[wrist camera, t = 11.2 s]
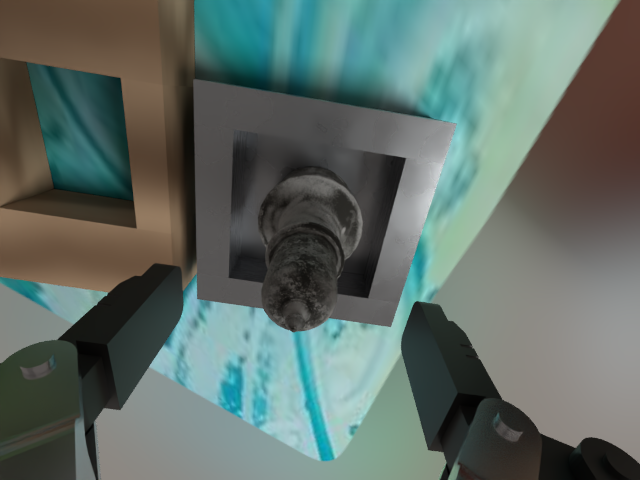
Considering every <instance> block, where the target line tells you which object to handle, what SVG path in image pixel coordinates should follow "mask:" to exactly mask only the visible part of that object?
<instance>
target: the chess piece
mask: <svg viewBox="0 0 640 480" xmlns="http://www.w3.org/2000/svg"><path fill="white" fill-rule="evenodd" d="M362 226H363V221H362V216H361V210H360V208H359V206H358V204H357V202H356V200H355V198H354V196H353V195H352V194H351V192H350V190H349V188H348V186H347V184H346V183H345V182H344V180H343V179H342V178H341V177H340V176H339V175H337V174H336V173H334V172H332V171H331V170H328V169H325V168H322V167H312V166H308V167H304V168H299V169H297V170H295V171H293V172H291V173H289V174H288V175H287V176H286V177H285V178H284V179H283V180H282V181H281V182H280V183H278V184H277V185H276V186H275V187H274V188H273V189H272V190H271V191H270V192H269V193H268V194H267V195H266V197H265V199H264V201H263V202H262V204H261V207H260V211H259V215H258V231H259V234H260V237H261V240H262V243H263V244H264V246H265V247H266V253H265V262H266V266H267V269H268V271H267V274H266V276H265V279H264V282H263V286H262V289H261V298H262V305H263V308H264V311H265V312H266V314H267V315H268V317H269V318H270V319H271V320H272V321H274V322H275V323H276V324H277V325H278V326H280V327H282V328H284V329H287V330H290V331H292V332H296V331H306V330H310V329H313V328H315V327H317V326H319V325H321V324H322V323H324V322H325V321H326V320H327V319H328V318H329V317H330V316H331V314H332V313H333V310H334V308H335V305H336V302H337V279H338V277H339V276H340V275H341V272H342V270H343V268H344V261H345V260H346V259H347V258H349V257H350V255H351V254H352V253H353V251H354V250H355V249H356V248H357V245H358V243H359V240H360V238H361V236H362Z"/></svg>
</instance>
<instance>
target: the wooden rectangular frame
mask: <svg viewBox="0 0 640 480" xmlns="http://www.w3.org/2000/svg"><path fill="white" fill-rule="evenodd" d="M26 62H30V63H36V64H42V65H47V66H53V67H59V68H65V69H71V70H77V71H83V72H89V73H95V74H101V75H106V76H112V77H118V78H121V85H122V95H123V104H124V113H125V122H126V132H127V141H128V150H129V159H130V169H131V178H132V187H133V196H134V201H129V200H123V199H116V198H110V197H104V196H97V195H91V194H84V193H78V192H71V191H65V190H58V189H54V186H53V182H52V177H51V173H50V168H49V164H48V159H47V154H46V150H45V145H44V141H43V136H42V132H41V127H40V123H39V118H38V114H37V109H36V104H35V100H34V95H33V91H32V86H31V82H30V77H29V73H28V68H27V64H26ZM193 79H195V38H194V0H0V277H6V278H13V279H20V280H27V281H34V282H40V283H47V284H54V285H61V286H68V287H75V288H82V289H89V290H96V291H103V292H110V291H111V290H112V289H114V288H115V287H116V286H117V285H118V284H119V283H121V282H123V281H125V280H127V279H129V278H131V277H133V276H135V275H136V276H142V275H143V274H144V273H145V272H146V271H147V270H148V269H149V268H150V267H151V266H152V265H153V264H155V263H160V264H167V265H174V266H179V267H180V268H181V271H182V285H183V290H184V289H185V288H186V286H187V285H188V284H189V282H190V281H191V280H192V278H193V277H194V276H195V275H196V273H197V249H196V196H195V142H194V88H193Z"/></svg>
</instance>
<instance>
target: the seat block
mask: <svg viewBox="0 0 640 480" xmlns="http://www.w3.org/2000/svg"><path fill="white" fill-rule="evenodd" d="M193 88H194V142H195V196H196V249H197V299H201V300H208V301H215V302H222V303H229V304H236V305H242V306H249V307H256V308H263V305H262V298H261V289H262V286H263V282H264V279H265V276H266V274H267V271H268V269H267V266H266V262H265V253H266V247H265V246H264V244H263V243H262V240H261V237H260V234H259V231H258V215H259V211H260V207H261V204H262V202H263V201H264V199H265V197H266V195H267V194H268V193H269V192H270V191H271V190H272V189H273V188H274V187H275V186H276V185H277V184H278V183H280V182H281V181H282V180H283V179H284V178H285V177H286V176H287V175H288V174H289V173H291V172H293V171H295V170H297V169H299V168H304V167H308V166H312V167H322V168H325V169H328V170H331V171H332V172H334V173H336V174H337V175H339V176H340V177H341V178H342V179H343V180H344V182H345V183H346V184H347V186H348V188H349V190H350V192H351V194H352V195H353V196H354V198H355V200H356V202H357V204H358V206H359V208H360V210H361V216H362V221H363V226H362V236H361V238H360V240H359V243H358V245H357V248H356V249H355V250H354V251H353V253H352V254H351V255H350V257H349V258H347V259H346V260H345V261H344V268H343V270H342V272H341V275H340V276H339V277H338V279H337V302H336V305H335V308H334V310H333V313H332V314H331V316H330V317H329V318H332V319H339V320H346V321H353V322H360V323H367V324H374V325H381V326H388V327H391V325H392V322H393V319H394V316H395V313H396V310H397V307H398V303H399V300H400V297H401V294H402V291H403V288H404V285H405V282H406V279H407V276H408V273H409V270H410V266H411V263H412V260H413V257H414V254H415V251H416V248H417V245H418V242H419V239H420V236H421V233H422V229H423V226H424V223H425V220H426V217H427V214H428V211H429V208H430V205H431V202H432V199H433V196H434V192H435V189H436V186H437V183H438V180H439V177H440V174H441V171H442V168H443V165H444V162H445V159H446V155H447V152H448V149H449V146H450V143H451V140H452V137H453V134H454V131H455V128H456V125H457V124H455V123H451V122H446V121H442V120H437V119H433V118H427V117H421V116H415V115H409V114H404V113H398V112H392V111H386V110H380V109H374V108H369V107H363V106H357V105H351V104H345V103H339V102H334V101H328V100H322V99H316V98H310V97H304V96H298V95H293V94H287V93H281V92H275V91H269V90H263V89H258V88H252V87H246V86H240V85H234V84H228V83H222V82H215V81H207V80H199V79H193ZM263 309H264V308H263Z"/></svg>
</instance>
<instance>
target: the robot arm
mask: <svg viewBox="0 0 640 480" xmlns="http://www.w3.org/2000/svg"><path fill="white" fill-rule="evenodd" d="M182 311H183V285H182V271H181V268H180V267H179V266H174V265H167V264H160V263H155V264H153V265H152V266H151V267H150V268H149V269H148V270H147V271H146V272H145V273H144V274H143V275H142V276H136V275H135V276H133V277H131V278H129V279H127V280H125V281H123V282H121V283H119V284H118V285H117V286H116V287H115V288H114V289H112V290H111V291H110V292H109V293H108V294H107V296H105V297H104V298H103V299H101V300H100V301H99V302H98V304H97V306H96V305H95V306H94V307H93V308H92V309H90V310H89V311H88V312H87V313H86V314H85V315H84V316H83V317H82V318H81V319H79V320H78V321H77V322H76V323H75V324H74V325H73V326H72V327H71V328H70V329H68V330H67V331H66V332H65V333H64V334H63V335H62V336H61V337H60V338H59V339H58V340H51V341H44V342H39V343H36V344H33V345H30V346H28V347H26V348H23V349H21V350H19V351H17V352H16V353H14V354H12V355H11V356H10V357H8V358H7V359H6V360H5V361H4V362H3V363H0V480H101V474H100V462H99V450H98V438H97V426H96V421H95V420H96V418H97V417H98V415H99V414H100V413H101V411H102V410H103V408H109V409H116V410H121V408H122V407H123V405H124V404H125V402H126V400H127V399H128V398H129V396H130V394H131V393H132V392H133V390H134V389H135V387H136V385H137V384H138V382H139V381H140V379H141V378H142V376H143V375H144V373H145V372H146V370H147V369H148V367H149V366H150V364H151V363H152V361H153V360H154V358H155V357H156V355H157V354H158V352H159V351H160V349H161V348H162V346H163V344H164V343H165V341H166V340H167V338H168V337H169V335H170V334H171V332H172V331H173V329H174V328H175V326H176V325H177V323H178V322H179V320H180V317H181V315H182ZM401 351H402V356H403V359H404V363H405V366H406V370H407V374H408V377H409V381H410V385H411V388H412V392H413V396H414V399H415V403H416V407H417V410H418V414H419V417H420V421H421V425H422V429H423V432H424V435H425V440H426V443H427V447H428V450H431V451H439V452H444V456H445V459H446V464H445V465H444V467H443V469H442V471H441V474H440V476H439V479H438V480H640V464H639V463H638V462H637V461H636V460H635V459H633V458H632V457H631V456H630V455H628V454H627V453H626V452H624V451H623V450H621V449H620V448H618V447H616V446H615V445H613V444H611V443H609V442H607V441H604V440H602V439H598V438H592V437H591V438H585V439H583V440H582V442H581V443H580V444H579V445H578V446H577V448H574V447H572V446H569V445H567V444H564V443H562V442H559V441H557V440H554V439H552V438H550V437H547V436H545V435H543V434H540V433H539V431H538V429H537V427H536V426H535V424H534V423H533V422H532V421H531V419H530V418H529V417H528V416H527V415H526V414H525V413H524V412H522V411H521V410H520V409H519V408H517V407H515V406H514V405H512V404H510V403H509V402H506V401H504V400H502V398H501V396H500V394H499V393H498V391H497V389H496V387H495V386H494V384H493V382H492V380H491V378H490V377H489V375H488V373H487V371H486V369H485V368H484V366H483V364H482V362H481V360H480V359H478V355H477V353H476V351H475V350H474V349H473V348H472V344H471V343H470V341H469V339H468V337H467V335H466V334H465V332H464V331H463V330H461V329H460V328H459V327H458V326H457V325H456V324H455V323H454V322H453V321H448V320H447V318H446V316H445V314H444V312H443V310H442V308H441V307H440V305H438V304H432V303H425V302H418V301H417V302H415V303H414V305H413V307H412V310H411V313H410V315H409V318H408V321H407V324H406V327H405V330H404V332H403V335H402V341H401Z"/></svg>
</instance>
